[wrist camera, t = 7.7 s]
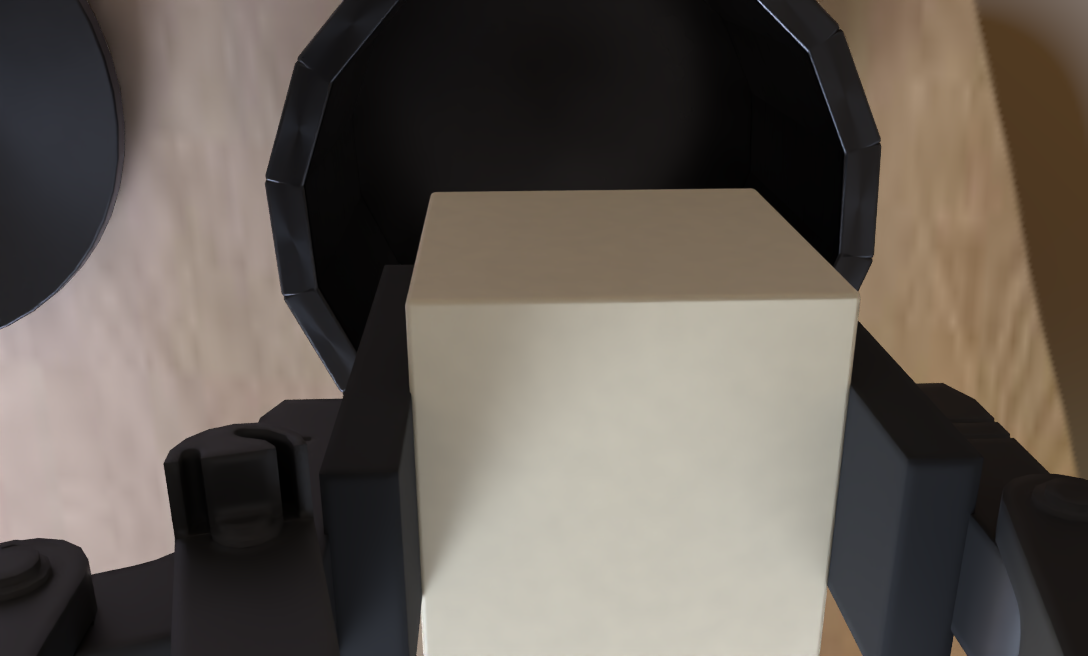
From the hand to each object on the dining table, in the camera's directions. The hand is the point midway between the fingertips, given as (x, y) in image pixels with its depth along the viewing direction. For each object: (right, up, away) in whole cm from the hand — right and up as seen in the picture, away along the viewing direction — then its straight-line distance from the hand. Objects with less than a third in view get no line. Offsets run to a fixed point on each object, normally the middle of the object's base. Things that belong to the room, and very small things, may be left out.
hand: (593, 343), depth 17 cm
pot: (0, +5, +13) cm, 14 cm away
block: (0, 0, 0) cm, 0 cm away
